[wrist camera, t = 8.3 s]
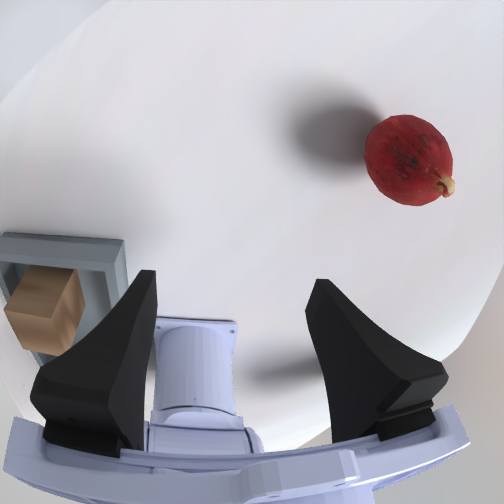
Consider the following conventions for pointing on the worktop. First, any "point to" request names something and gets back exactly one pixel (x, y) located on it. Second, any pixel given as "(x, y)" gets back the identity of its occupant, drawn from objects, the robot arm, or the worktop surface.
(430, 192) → the pomegranate
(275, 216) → the worktop surface
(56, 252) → the tray
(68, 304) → the block
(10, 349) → the worktop surface
